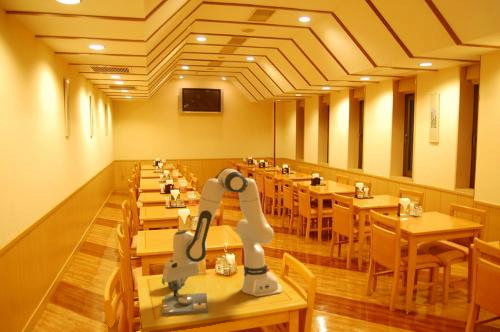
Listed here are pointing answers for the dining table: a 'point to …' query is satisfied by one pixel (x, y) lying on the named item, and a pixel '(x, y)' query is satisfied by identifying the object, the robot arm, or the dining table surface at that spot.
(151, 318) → the dining table surface
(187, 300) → the ladle
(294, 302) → the dining table surface
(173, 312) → the board
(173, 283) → the snack cup
